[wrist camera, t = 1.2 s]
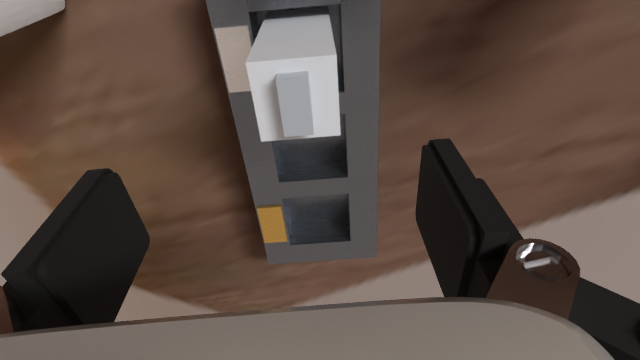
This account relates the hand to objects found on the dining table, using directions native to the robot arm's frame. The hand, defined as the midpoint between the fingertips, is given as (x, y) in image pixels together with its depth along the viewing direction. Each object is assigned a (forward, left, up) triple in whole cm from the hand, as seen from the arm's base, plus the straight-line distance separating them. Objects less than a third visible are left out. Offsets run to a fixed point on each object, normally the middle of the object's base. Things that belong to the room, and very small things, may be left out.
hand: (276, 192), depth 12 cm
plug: (0, 0, -17) cm, 17 cm away
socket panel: (0, +7, -17) cm, 19 cm away
